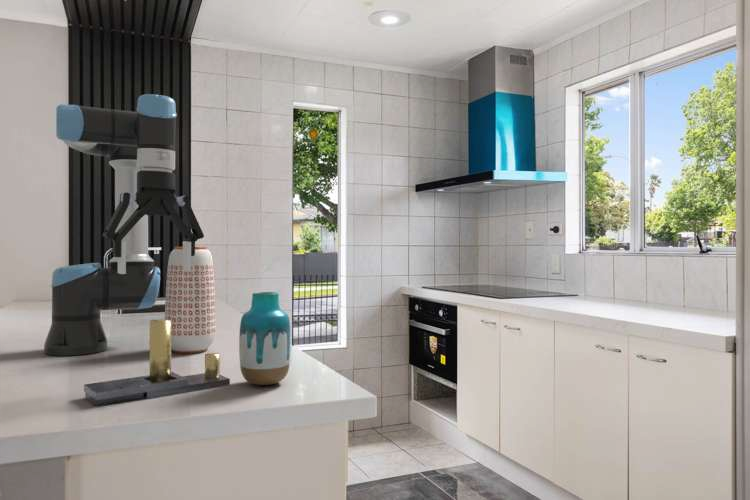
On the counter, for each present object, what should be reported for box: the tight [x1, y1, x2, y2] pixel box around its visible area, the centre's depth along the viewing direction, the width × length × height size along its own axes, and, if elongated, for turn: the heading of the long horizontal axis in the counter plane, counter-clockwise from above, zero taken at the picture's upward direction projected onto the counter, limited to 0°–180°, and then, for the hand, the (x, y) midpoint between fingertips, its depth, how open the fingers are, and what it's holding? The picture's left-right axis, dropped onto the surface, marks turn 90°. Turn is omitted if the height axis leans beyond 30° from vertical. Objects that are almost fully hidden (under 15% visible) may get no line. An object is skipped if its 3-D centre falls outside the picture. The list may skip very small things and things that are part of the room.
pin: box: [149, 318, 172, 383], centre depth 115 cm, size 4×4×14 cm
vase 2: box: [238, 291, 292, 386], centre depth 121 cm, size 11×11×19 cm
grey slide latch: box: [83, 352, 231, 407], centre depth 115 cm, size 8×26×6 cm, turn 131°
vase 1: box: [164, 246, 217, 354], centre depth 157 cm, size 13×13×28 cm
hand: (155, 272), depth 122 cm, fingers open, 13 cm apart
